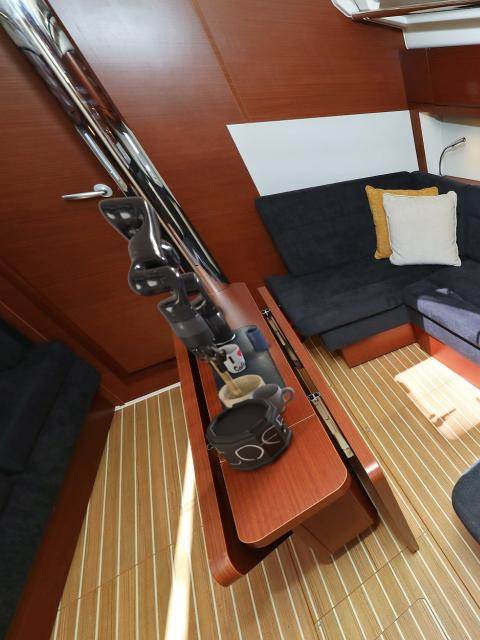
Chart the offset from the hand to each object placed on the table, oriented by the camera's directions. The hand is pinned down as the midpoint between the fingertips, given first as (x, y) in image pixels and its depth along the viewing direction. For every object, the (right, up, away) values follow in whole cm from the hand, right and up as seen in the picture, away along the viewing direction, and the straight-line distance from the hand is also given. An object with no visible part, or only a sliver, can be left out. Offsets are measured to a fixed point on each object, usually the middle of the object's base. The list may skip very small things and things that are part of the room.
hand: (221, 370), depth 111 cm
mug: (+15, -15, +8) cm, 23 cm away
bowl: (+1, -12, +12) cm, 17 cm away
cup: (-16, -2, +26) cm, 30 cm away
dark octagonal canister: (+19, -25, -5) cm, 32 cm away
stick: (0, -10, +8) cm, 13 cm away
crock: (-15, +7, +37) cm, 40 cm away
